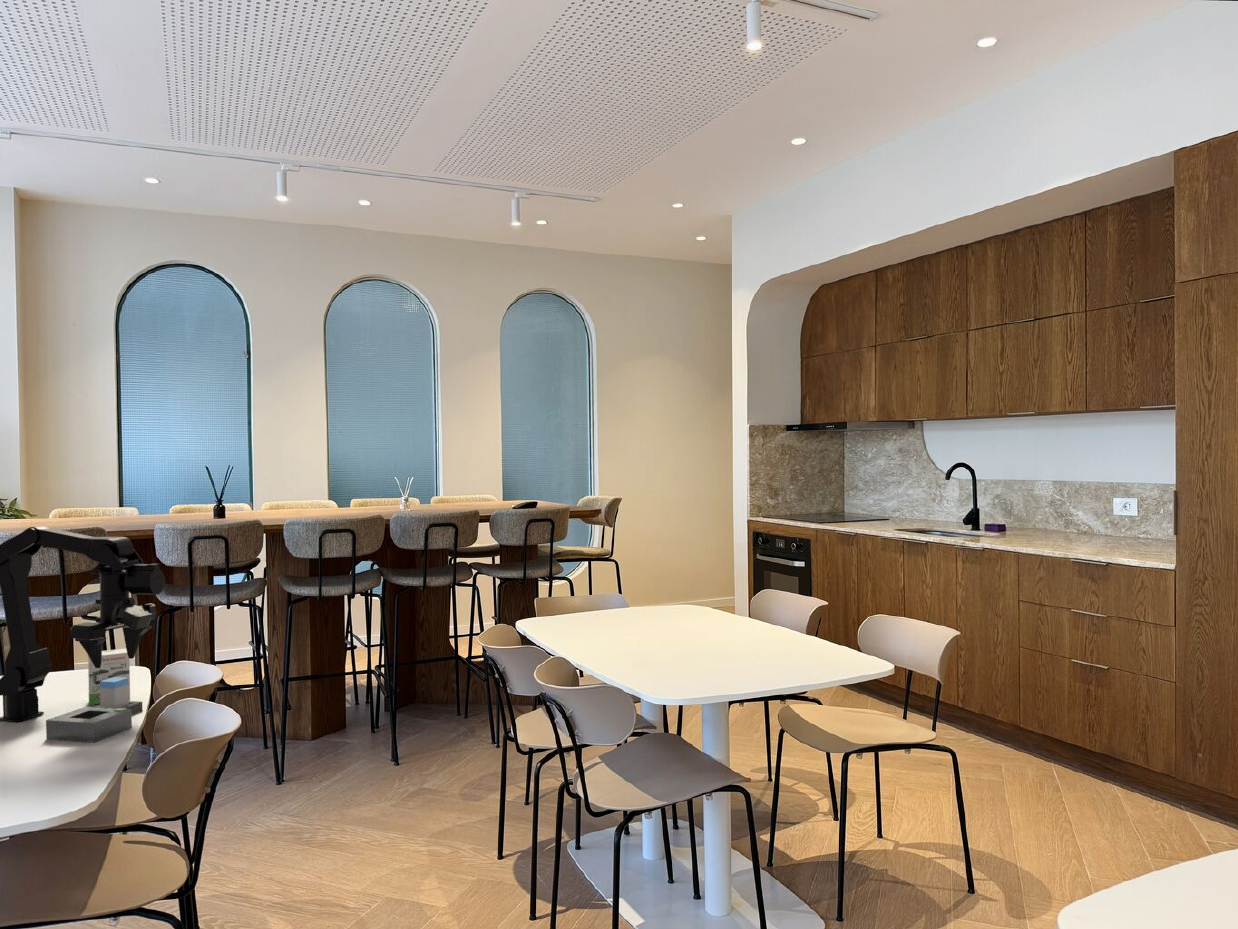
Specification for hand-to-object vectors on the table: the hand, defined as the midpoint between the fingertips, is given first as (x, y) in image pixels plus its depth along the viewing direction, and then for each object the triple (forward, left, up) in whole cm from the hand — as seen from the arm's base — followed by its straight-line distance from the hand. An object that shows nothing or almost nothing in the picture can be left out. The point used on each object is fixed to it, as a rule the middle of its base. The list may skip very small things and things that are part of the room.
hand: (114, 663), depth 200 cm
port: (+3, -11, -12) cm, 17 cm away
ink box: (-14, +12, -13) cm, 22 cm away
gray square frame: (-3, +2, -12) cm, 13 cm away
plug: (-3, +2, -12) cm, 13 cm away
